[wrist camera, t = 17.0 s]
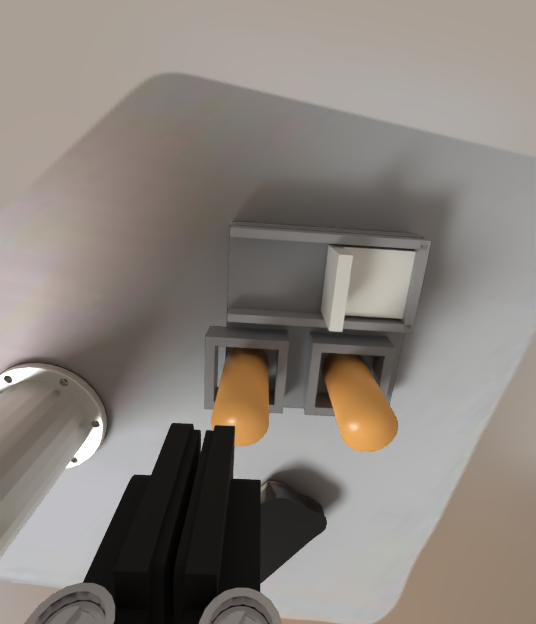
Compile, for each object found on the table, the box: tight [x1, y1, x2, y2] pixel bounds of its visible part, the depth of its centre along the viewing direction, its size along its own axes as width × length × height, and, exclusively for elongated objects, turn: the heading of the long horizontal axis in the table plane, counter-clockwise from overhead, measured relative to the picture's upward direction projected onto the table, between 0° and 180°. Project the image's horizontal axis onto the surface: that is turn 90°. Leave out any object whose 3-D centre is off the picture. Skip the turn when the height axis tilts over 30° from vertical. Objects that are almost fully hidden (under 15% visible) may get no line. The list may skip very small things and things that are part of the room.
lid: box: [321, 245, 415, 332], centre depth 29 cm, size 7×6×5 cm
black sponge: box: [260, 481, 327, 584], centre depth 43 cm, size 16×8×4 cm, turn 141°
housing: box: [204, 221, 431, 446], centre depth 30 cm, size 18×17×12 cm
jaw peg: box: [322, 353, 398, 452], centre depth 30 cm, size 4×4×9 cm
